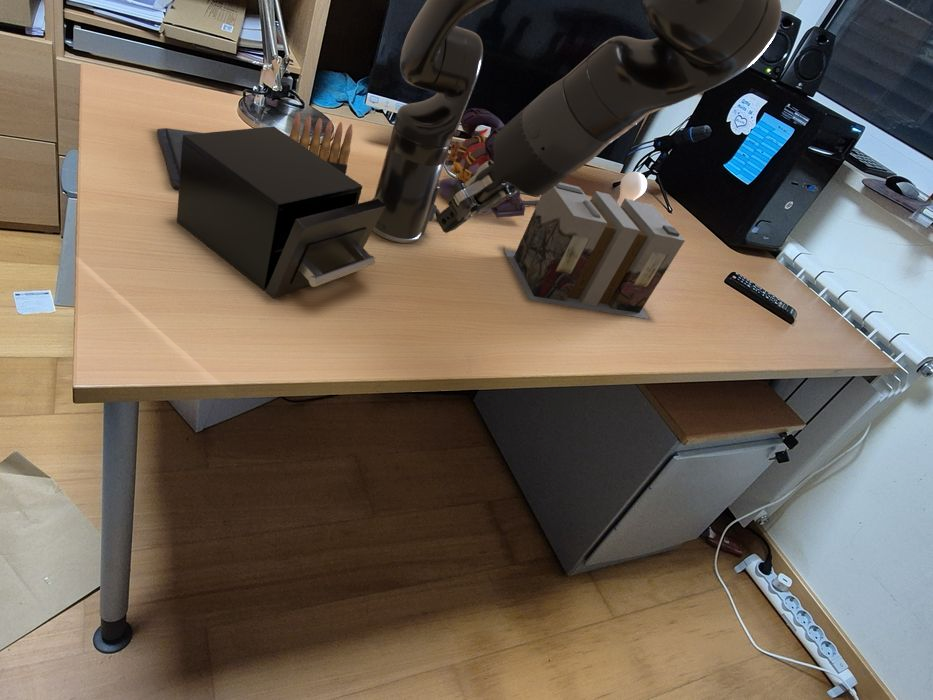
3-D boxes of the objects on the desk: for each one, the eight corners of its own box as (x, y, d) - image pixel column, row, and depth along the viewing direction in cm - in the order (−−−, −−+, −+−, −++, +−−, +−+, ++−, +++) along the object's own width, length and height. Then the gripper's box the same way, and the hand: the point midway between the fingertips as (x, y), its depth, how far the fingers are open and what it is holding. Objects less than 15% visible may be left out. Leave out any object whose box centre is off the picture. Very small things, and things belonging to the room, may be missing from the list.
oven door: (367, 287, 92) (404, 224, 84) (291, 319, 80) (324, 249, 72) (344, 263, 93) (378, 198, 85) (265, 290, 81) (295, 218, 73)
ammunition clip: (340, 186, 112) (355, 123, 105) (342, 191, 111) (357, 127, 104) (280, 176, 107) (291, 109, 100) (281, 182, 106) (293, 114, 99)
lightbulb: (633, 222, 150) (656, 181, 144) (614, 219, 147) (636, 177, 141) (620, 209, 154) (642, 169, 148) (601, 206, 151) (623, 164, 145)
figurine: (520, 228, 125) (554, 151, 115) (462, 223, 117) (493, 140, 108) (477, 179, 137) (505, 106, 127) (422, 172, 130) (447, 94, 120)
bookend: (649, 318, 113) (697, 244, 104) (529, 300, 103) (570, 215, 94) (614, 270, 124) (655, 198, 115) (503, 249, 115) (538, 169, 105)
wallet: (157, 120, 104) (250, 134, 112) (156, 131, 105) (249, 144, 113) (170, 178, 91) (274, 189, 99) (169, 190, 92) (273, 200, 100)
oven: (342, 263, 93) (362, 185, 85) (263, 291, 81) (278, 204, 74) (261, 204, 98) (273, 126, 90) (176, 222, 87) (182, 134, 79)
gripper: (537, 187, 53) (423, 270, 66) (605, 159, 63) (493, 237, 75) (493, 110, 53) (387, 209, 65) (567, 94, 62) (462, 183, 75)
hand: (444, 224), depth 70 cm, fingers closed
